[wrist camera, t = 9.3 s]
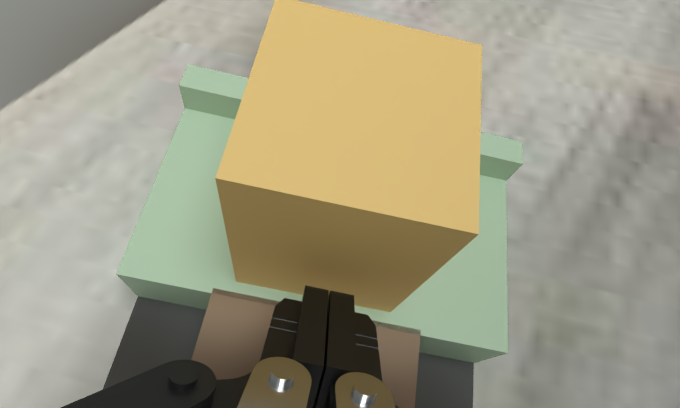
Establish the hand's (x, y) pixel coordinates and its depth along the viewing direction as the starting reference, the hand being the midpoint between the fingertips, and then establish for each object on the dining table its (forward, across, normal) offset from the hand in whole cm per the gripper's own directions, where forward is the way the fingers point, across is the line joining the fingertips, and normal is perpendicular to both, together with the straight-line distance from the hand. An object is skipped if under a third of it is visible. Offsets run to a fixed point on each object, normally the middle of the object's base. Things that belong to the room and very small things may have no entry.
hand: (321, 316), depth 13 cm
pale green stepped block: (+8, 0, +1) cm, 9 cm away
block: (+5, 0, -1) cm, 5 cm away
